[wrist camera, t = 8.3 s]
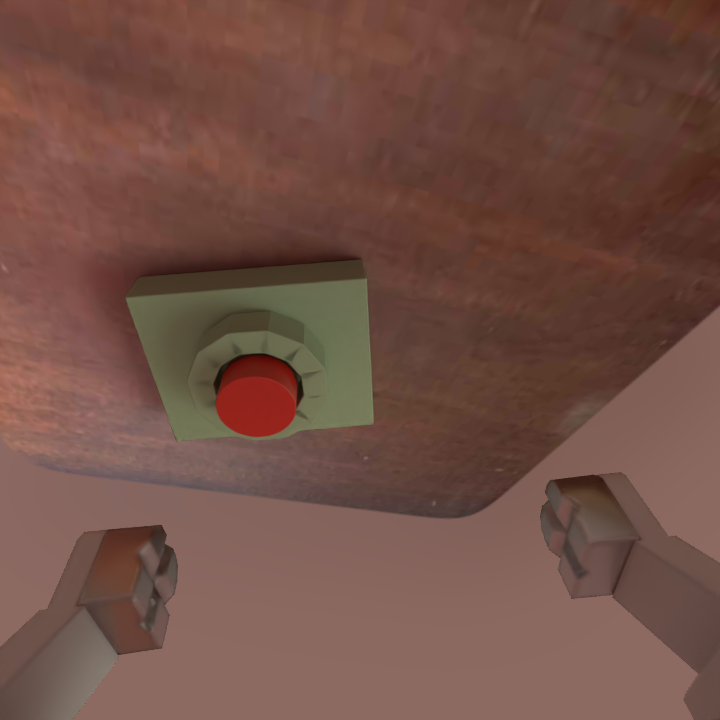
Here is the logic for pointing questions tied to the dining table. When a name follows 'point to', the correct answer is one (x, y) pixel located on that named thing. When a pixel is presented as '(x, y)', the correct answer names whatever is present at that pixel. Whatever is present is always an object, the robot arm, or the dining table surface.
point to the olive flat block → (258, 340)
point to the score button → (257, 396)
